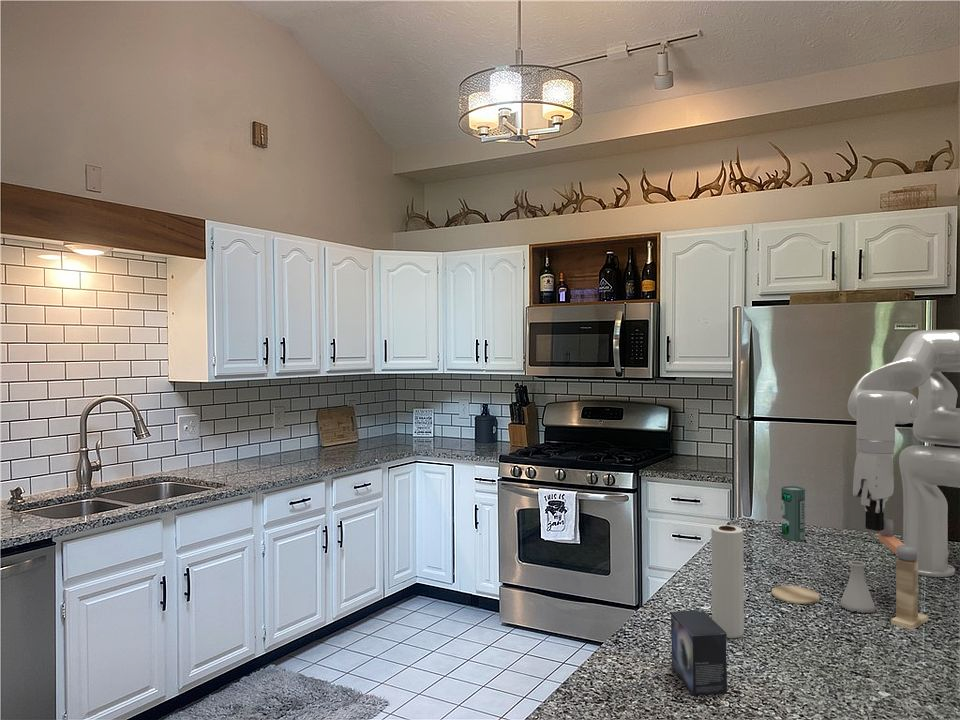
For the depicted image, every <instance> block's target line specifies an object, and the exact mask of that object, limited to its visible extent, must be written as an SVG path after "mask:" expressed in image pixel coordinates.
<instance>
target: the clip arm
mask: <svg viewBox="0 0 960 720" xmlns="http://www.w3.org/2000/svg"><path fill="white" fill-rule="evenodd" d="M877 539H878V541H879V542H880V543H881V544H883V546H885V547H887V548H888V549H889V550H890V551H891V552H893V553H894V554H895V555H896V557H897V558H896V559H898V558H899V559H902V560H907V561H916V560H917V548H916V547H913V546H907V545H905V544H904V543H903V542H902V540H900V539H898V538H897V537H896V536H894V520H893V519H892V518H891V519H890V518H884V529H883V530H881V531H880V532H878V533H877Z"/></svg>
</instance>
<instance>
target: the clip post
mask: <svg viewBox="0 0 960 720" xmlns="http://www.w3.org/2000/svg"><path fill="white" fill-rule="evenodd" d="M895 567H896V568H895V576H896V577H895V598H896V599H895V602H896V603H895V608H896V609H895V610H896V611H895V614H896V615H895V617H892V618H891V619H890V625H892V626H895V625H896V626H895V627H899V628H902V627H903V628H902V629H906V630H910V631H913V630H916V629H917V628H918V627H920V626H922V625H924V624H925V623H926V622H928V621H929V615H927V614H925V613H920V612H919V575H918V560H916V561H907V560H902V559H899V558H896V560H895Z"/></svg>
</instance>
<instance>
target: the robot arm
mask: <svg viewBox="0 0 960 720" xmlns="http://www.w3.org/2000/svg"><path fill="white" fill-rule="evenodd" d="M942 372H943V373H960V329H928V330H926V329H924V330H917V331H914V332H911V333H910V334H909V335H908V336H907V337H905V339H904V341H903V343H902V344H901V346H900V347H899V349H898V351H897V353H896V355H895V356H894V358H893V360H892V361H890V362H889V363H886V364H884V365H882V366H880V367H877V368H876V369H873V370H871V371H869V372H868V373H865V374H864V375H863V376H862V377H860V379H859V380H858V381H857V382H856V383H855V386H854V387H853V389H852V390H851V393H850V395H849V397H848V401H847V411H848V414H849V415H850V417H852V419H854V420H856V443H855V444H856V445H855V446H856V448H855V449H856V451H855V453H856V458H855V462H854V470H853V482H852V483H853V485H852V495H853V497H855V498H860V505H861V506H864V512H865V529H867V530H872V531H877V532H881V530H883V529H884V519H885V510H886V502H888V501H889V498H890V497H891V496H893V495H894V490H895V468H894V460H893V459H894V458H893V457H894V456H895V455H896V425H906V424H910V423H913V425H912V433H913V436H914V437H915V438H916V440H918V441H919V442H922V443H926V444H931V445H924V444H923V445H922V444H916V445H909V446H906V447H905V448H904V449H902V450H901V452H900V454H899V457H898V464H899V471H900V476H901V482H902V491H903V492H902V493H903V494H902V495H903V499H902V500H903V505H902V506H903V507H902V508H903V513H902V514H903V519H902V520H903V526H902V528H903V531H902V532H903V535H902V536H903V537H902V538H903V540H902V541H903V542H902V543H904V544H905V545H907V546H913V547H916V548H917V560H918V576H921V577H923V576H924V577H929V578H930V577H931V578H947V577H948V578H949V577H952V576H954V575H955V574H956V568H955V567H954V566H953V565H951V564H949V563H948V556H949V555H950V552H949V550H948V545H949V544H948V540H949V539H948V527H949V525H948V517H949V516H948V514H949V513H948V511H949V510H948V509H949V507H948V501H947V498H946V497H945V495H944V493H943V492H942V490H941V489H940V488H939V487H938V486H942V487H943V486H945V487H952V488H957V489H958V488H960V448H954V447H960V407H956V406H957V400H958V391H957V389H956V388H955V386H954V385H953V383H952V382H951V381H950V380H949V379H948V378H947V377H946V376H945V375H944V374H943V373H942ZM915 388H918V394H917V395H918V396H917V397H916V396H915V395H914V394H912V393H911V392H909V390H912V389H913V390H914V389H915ZM907 391H908V392H907ZM933 445H935V446H933ZM936 445H944V446H954V447H944V446H943V447H942V446H936Z"/></svg>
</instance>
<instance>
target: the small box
mask: <svg viewBox="0 0 960 720" xmlns="http://www.w3.org/2000/svg"><path fill="white" fill-rule="evenodd" d="M670 630H671V631H670V632H671V633H670V634H671V636H670V637H671V668H672V669H673V670H674V672H675V673H676V674H677V675H678V677H679V678H680V680H681V681H682V683H683V684H684V685H685V687H686V688H687V689H688V691H689V692H690V693H691V695H692V696H707V695H708V696H710V695H725V694H728V692H729V691H728V690H729V689H728V674H727V673H728V670H727V669H728V668H727V667H728V666H727V633H726V632H725V631H724V630H723V629H722V628H721V627H720V626H719V625H718V624H717V623H716V622H715V621H714V620H713V619H712V617H711V616H710V615H708V613H707V612H705V611H704V610H703V609H692V610H691V609H689V610H677V611H670Z"/></svg>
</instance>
